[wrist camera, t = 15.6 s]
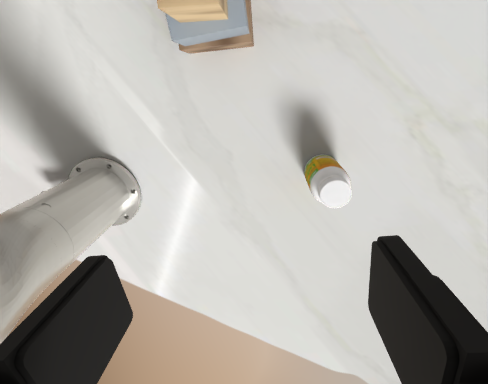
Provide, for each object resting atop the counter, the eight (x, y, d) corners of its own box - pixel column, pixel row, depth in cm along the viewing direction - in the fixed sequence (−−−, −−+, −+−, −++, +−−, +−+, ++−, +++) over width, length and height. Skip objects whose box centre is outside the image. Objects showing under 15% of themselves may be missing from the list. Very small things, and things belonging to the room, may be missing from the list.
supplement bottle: (305, 153, 41) (317, 173, 32) (340, 154, 41) (362, 175, 32) (302, 185, 43) (311, 212, 34) (335, 186, 43) (353, 214, 34)
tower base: (190, 53, 37) (179, 50, 32) (178, -26, 33) (164, -43, 29) (253, 46, 36) (252, 41, 31) (248, -36, 32) (245, -55, 28)
